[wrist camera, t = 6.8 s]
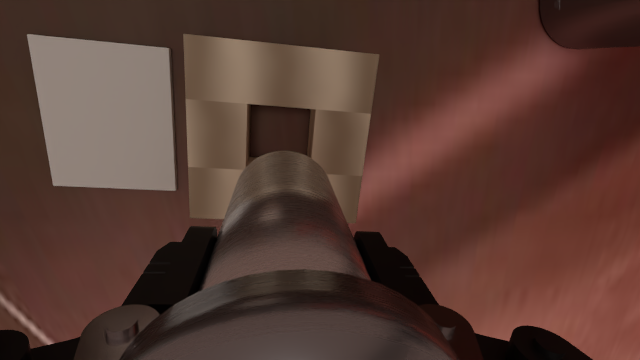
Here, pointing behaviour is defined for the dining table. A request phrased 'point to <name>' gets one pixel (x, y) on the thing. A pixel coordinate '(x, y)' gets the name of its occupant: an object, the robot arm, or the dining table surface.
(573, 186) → the dining table surface
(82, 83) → the mat
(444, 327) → the robot arm
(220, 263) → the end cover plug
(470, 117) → the dining table surface
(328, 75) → the bore housing
